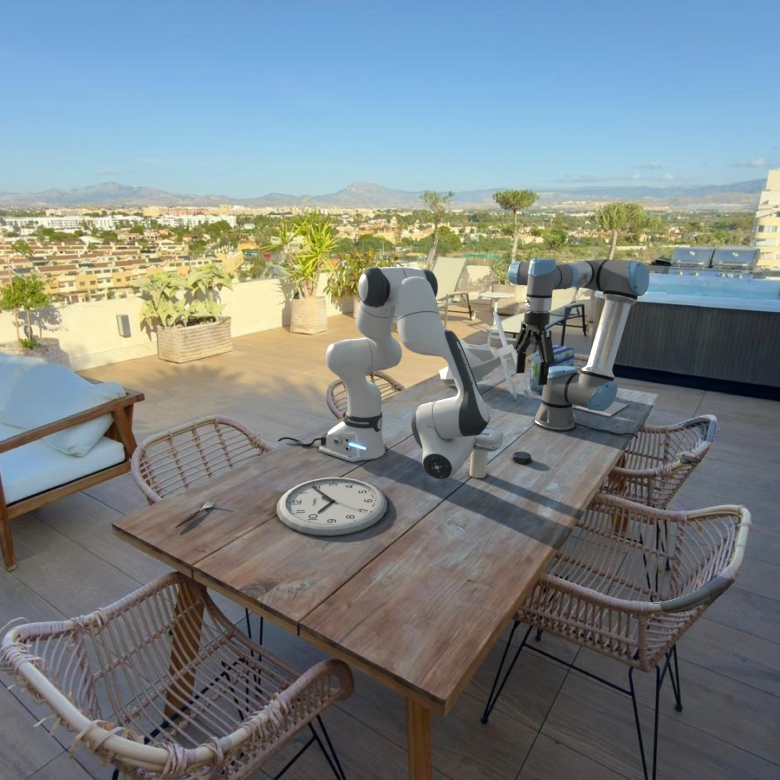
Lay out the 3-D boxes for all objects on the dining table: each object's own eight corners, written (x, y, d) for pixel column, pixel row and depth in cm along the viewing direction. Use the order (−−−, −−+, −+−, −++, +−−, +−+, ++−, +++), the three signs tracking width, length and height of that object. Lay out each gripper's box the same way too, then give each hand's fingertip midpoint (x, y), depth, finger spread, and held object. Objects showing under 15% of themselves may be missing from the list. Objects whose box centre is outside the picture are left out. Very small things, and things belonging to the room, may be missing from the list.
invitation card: (608, 416, 214) (573, 407, 224) (608, 416, 214) (573, 408, 224) (628, 404, 229) (594, 396, 238) (628, 405, 229) (594, 397, 238)
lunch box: (546, 398, 236) (551, 353, 229) (525, 393, 243) (529, 349, 237) (573, 387, 253) (579, 344, 247) (553, 382, 260) (558, 341, 254)
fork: (171, 528, 130) (170, 521, 130) (212, 499, 145) (211, 492, 144) (179, 530, 129) (178, 523, 129) (220, 500, 144) (219, 494, 143)
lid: (524, 455, 176) (524, 450, 176) (534, 462, 171) (535, 457, 170) (509, 458, 174) (510, 452, 174) (519, 465, 169) (520, 459, 168)
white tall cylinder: (482, 470, 165) (486, 418, 160) (488, 477, 160) (492, 424, 155) (467, 471, 164) (470, 419, 159) (472, 478, 159) (476, 425, 154)
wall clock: (392, 527, 129) (268, 531, 127) (391, 533, 130) (269, 537, 127) (383, 473, 158) (282, 475, 155) (383, 478, 158) (282, 480, 156)
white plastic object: (461, 429, 252) (437, 405, 227) (444, 352, 274) (420, 323, 250) (535, 404, 240) (518, 377, 215) (510, 326, 262) (492, 293, 237)
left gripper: (498, 438, 129) (509, 420, 141) (420, 425, 137) (437, 409, 149) (496, 461, 131) (507, 442, 143) (419, 447, 139) (437, 430, 151)
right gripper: (506, 305, 169) (501, 369, 175) (549, 318, 146) (541, 390, 152) (527, 304, 170) (521, 367, 177) (572, 317, 148) (563, 389, 154)
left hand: (471, 425), depth 146 cm, fingers open, 8 cm apart
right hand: (530, 378), depth 164 cm, fingers open, 13 cm apart
